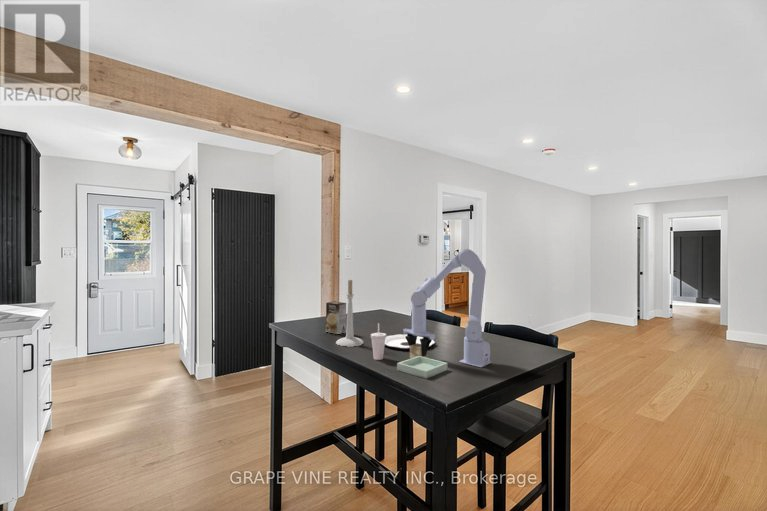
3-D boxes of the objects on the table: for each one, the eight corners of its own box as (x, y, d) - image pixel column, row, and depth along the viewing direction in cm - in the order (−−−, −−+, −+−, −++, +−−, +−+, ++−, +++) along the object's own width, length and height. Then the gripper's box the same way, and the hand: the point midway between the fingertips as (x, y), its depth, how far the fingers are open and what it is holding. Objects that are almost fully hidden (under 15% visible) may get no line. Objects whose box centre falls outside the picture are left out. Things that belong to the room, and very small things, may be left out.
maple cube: (427, 357, 143) (427, 345, 143) (419, 360, 139) (419, 347, 139) (417, 355, 147) (417, 343, 146) (409, 357, 143) (409, 345, 143)
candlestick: (331, 342, 167) (331, 278, 167) (355, 338, 174) (355, 277, 174) (343, 348, 156) (344, 280, 156) (368, 344, 163) (369, 279, 163)
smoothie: (386, 356, 145) (386, 322, 145) (386, 360, 139) (386, 325, 138) (370, 356, 145) (370, 322, 145) (370, 360, 138) (370, 325, 138)
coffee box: (325, 333, 186) (325, 302, 186) (333, 330, 191) (333, 301, 191) (338, 335, 181) (338, 304, 181) (346, 333, 186) (346, 302, 186)
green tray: (447, 369, 128) (447, 362, 128) (426, 378, 119) (426, 371, 119) (418, 362, 137) (418, 355, 137) (396, 370, 128) (397, 363, 128)
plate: (441, 342, 170) (441, 338, 170) (422, 355, 148) (422, 350, 148) (394, 335, 182) (395, 332, 182) (370, 347, 160) (370, 343, 160)
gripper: (439, 321, 141) (439, 355, 141) (410, 317, 151) (410, 348, 151) (429, 324, 136) (428, 359, 136) (400, 319, 146) (399, 352, 146)
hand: (418, 354), depth 143 cm, fingers closed on maple cube, 5 cm apart
